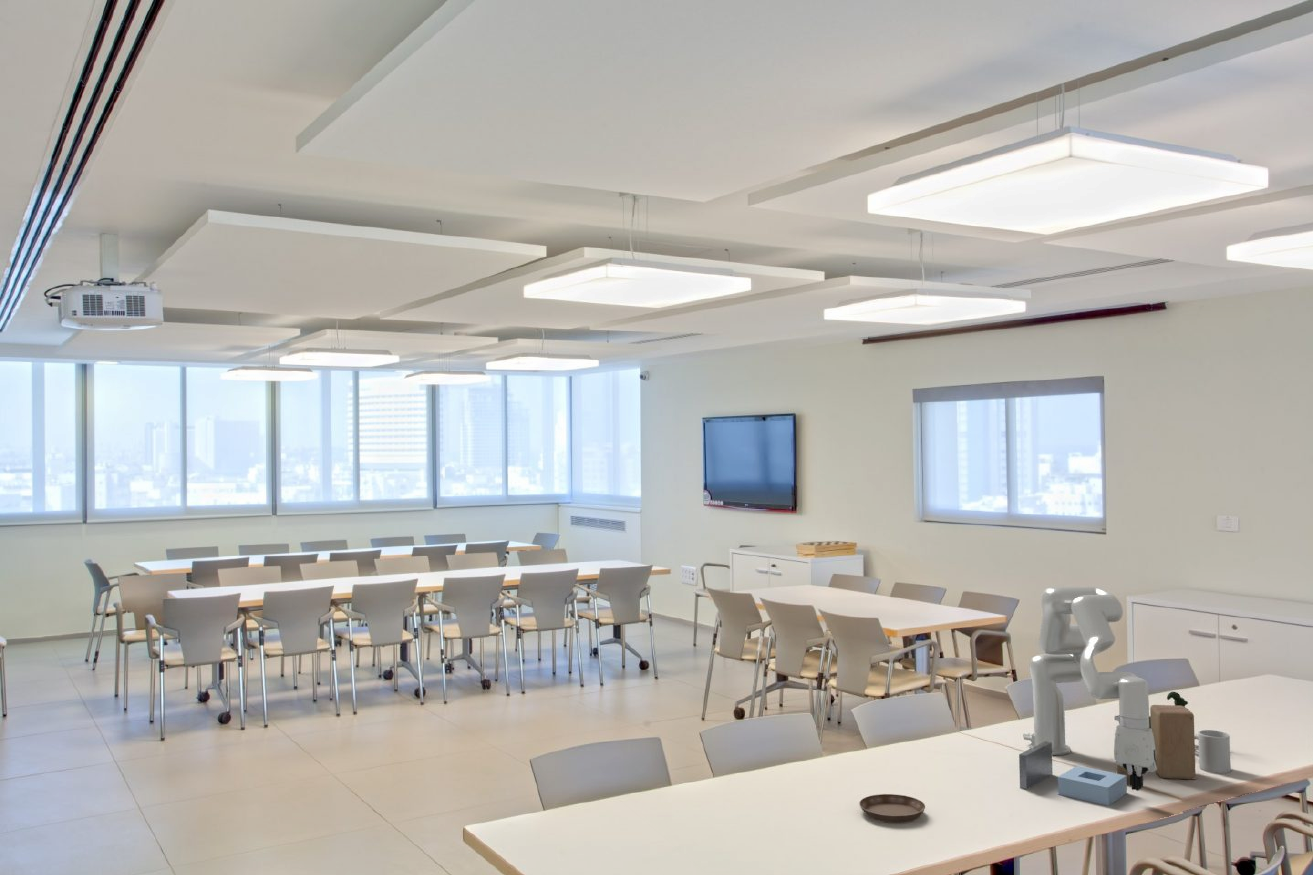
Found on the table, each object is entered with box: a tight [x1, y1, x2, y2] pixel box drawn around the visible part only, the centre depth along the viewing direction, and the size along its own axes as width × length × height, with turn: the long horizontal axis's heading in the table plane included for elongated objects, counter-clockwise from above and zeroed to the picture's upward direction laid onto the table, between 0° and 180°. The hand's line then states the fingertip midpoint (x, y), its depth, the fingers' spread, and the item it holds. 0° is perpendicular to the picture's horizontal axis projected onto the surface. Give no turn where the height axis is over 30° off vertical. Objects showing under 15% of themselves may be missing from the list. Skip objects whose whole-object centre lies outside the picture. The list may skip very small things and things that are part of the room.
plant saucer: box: [858, 793, 926, 824], centre depth 272 cm, size 18×18×3 cm
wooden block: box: [1149, 704, 1197, 780], centre depth 302 cm, size 10×10×20 cm
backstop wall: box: [1018, 741, 1053, 790], centre depth 297 cm, size 2×18×10 cm, turn 135°
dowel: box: [1115, 763, 1131, 786], centre depth 295 cm, size 4×4×12 cm
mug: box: [1194, 729, 1232, 775], centre depth 307 cm, size 12×8×11 cm
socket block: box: [1057, 765, 1128, 806], centre depth 285 cm, size 14×14×5 cm
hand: (1136, 788), depth 277 cm, fingers closed
